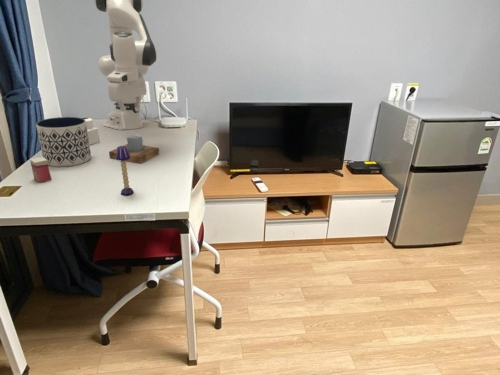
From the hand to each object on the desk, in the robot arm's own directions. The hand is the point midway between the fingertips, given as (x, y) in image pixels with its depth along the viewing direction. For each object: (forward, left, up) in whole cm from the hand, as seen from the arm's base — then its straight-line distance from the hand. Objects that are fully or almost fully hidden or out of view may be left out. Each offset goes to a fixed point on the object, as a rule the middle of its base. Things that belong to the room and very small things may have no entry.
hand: (130, 108), depth 147 cm
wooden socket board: (0, -1, -21) cm, 21 cm away
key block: (0, 0, -20) cm, 20 cm away
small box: (-13, -37, -21) cm, 45 cm away
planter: (-22, -17, -21) cm, 35 cm away
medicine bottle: (-32, +6, -21) cm, 39 cm away
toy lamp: (+21, -34, -21) cm, 45 cm away
